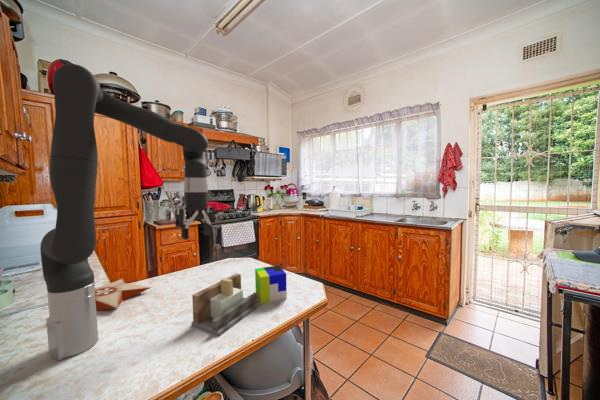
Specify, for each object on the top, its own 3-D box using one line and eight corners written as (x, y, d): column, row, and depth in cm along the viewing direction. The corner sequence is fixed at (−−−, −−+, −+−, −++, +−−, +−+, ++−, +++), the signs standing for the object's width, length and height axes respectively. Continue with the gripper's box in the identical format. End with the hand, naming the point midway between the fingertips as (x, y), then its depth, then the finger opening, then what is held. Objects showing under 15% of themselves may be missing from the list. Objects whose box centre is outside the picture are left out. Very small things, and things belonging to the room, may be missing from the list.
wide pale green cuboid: (222, 320, 76) (221, 286, 75) (210, 316, 78) (209, 284, 78) (243, 306, 85) (242, 276, 84) (232, 303, 87) (231, 273, 86)
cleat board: (219, 335, 70) (218, 302, 69) (191, 325, 75) (190, 294, 75) (260, 304, 88) (260, 278, 87) (235, 298, 93) (234, 273, 92)
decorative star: (132, 271, 112) (160, 287, 94) (132, 280, 112) (161, 297, 94) (43, 294, 89) (58, 321, 71) (44, 304, 89) (59, 334, 71)
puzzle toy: (286, 298, 92) (286, 273, 92) (261, 303, 89) (260, 277, 88) (279, 288, 102) (278, 265, 101) (255, 292, 98) (255, 268, 97)
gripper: (184, 191, 75) (185, 242, 76) (219, 191, 88) (220, 234, 88) (169, 191, 79) (170, 239, 79) (205, 190, 91) (206, 233, 92)
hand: (196, 237), depth 84 cm, fingers open, 8 cm apart
